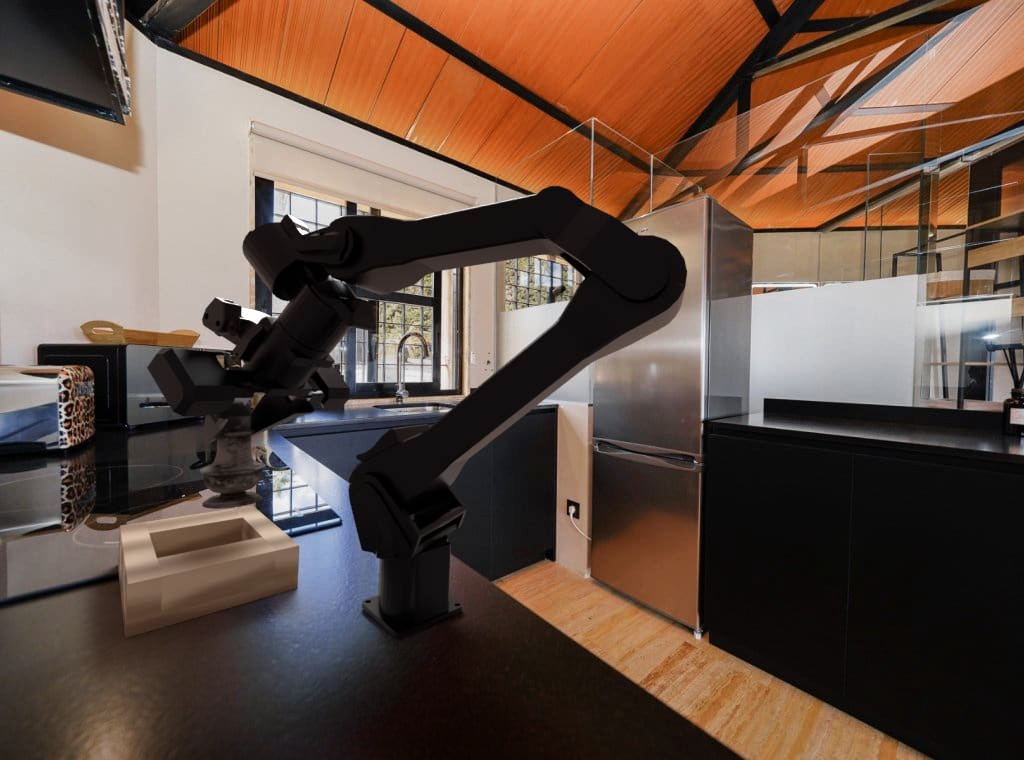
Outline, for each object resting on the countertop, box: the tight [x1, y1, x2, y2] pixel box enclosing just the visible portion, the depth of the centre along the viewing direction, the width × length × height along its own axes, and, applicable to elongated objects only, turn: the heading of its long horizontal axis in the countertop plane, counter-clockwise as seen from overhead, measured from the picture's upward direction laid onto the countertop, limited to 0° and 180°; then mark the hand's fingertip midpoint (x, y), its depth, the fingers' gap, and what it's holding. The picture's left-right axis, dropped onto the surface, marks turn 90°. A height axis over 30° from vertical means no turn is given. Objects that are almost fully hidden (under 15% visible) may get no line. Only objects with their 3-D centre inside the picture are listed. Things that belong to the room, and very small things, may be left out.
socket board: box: [117, 505, 300, 639], centre depth 41 cm, size 17×12×4 cm
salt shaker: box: [199, 400, 267, 510], centre depth 44 cm, size 6×6×12 cm
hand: (225, 437), depth 45 cm, fingers closed on salt shaker, 4 cm apart
